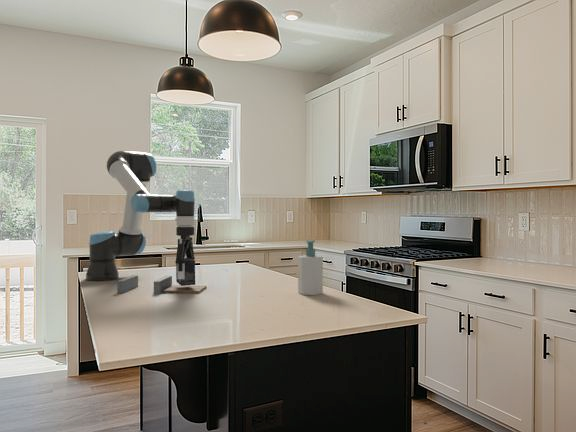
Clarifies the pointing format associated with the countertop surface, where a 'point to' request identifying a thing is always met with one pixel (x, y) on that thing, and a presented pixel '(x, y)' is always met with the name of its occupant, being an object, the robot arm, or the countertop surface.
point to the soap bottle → (310, 272)
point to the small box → (187, 273)
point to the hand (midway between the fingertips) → (185, 276)
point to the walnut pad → (184, 289)
